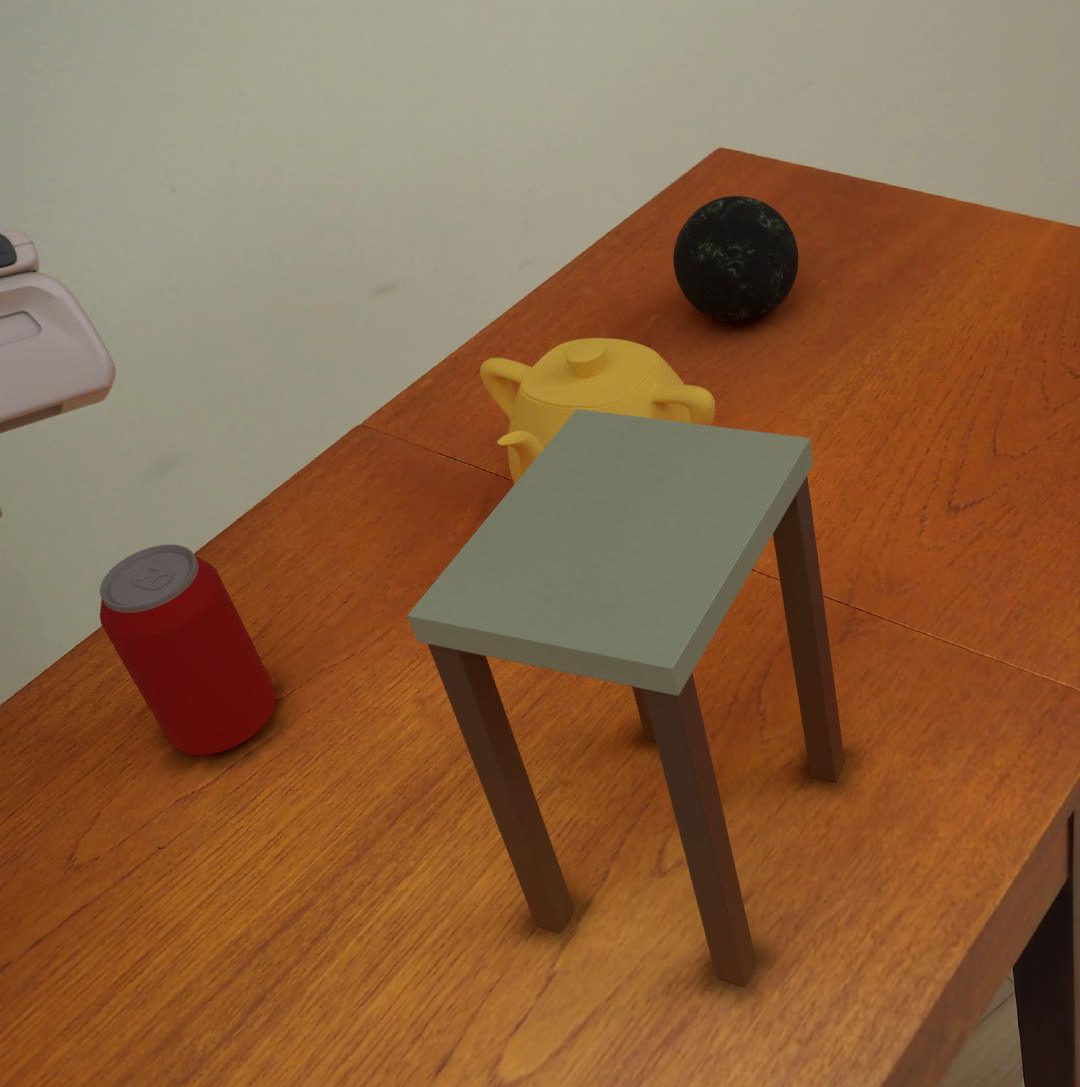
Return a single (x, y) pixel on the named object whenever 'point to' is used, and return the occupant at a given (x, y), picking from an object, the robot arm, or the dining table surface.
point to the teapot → (587, 392)
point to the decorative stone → (735, 259)
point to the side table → (633, 622)
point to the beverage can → (186, 649)
